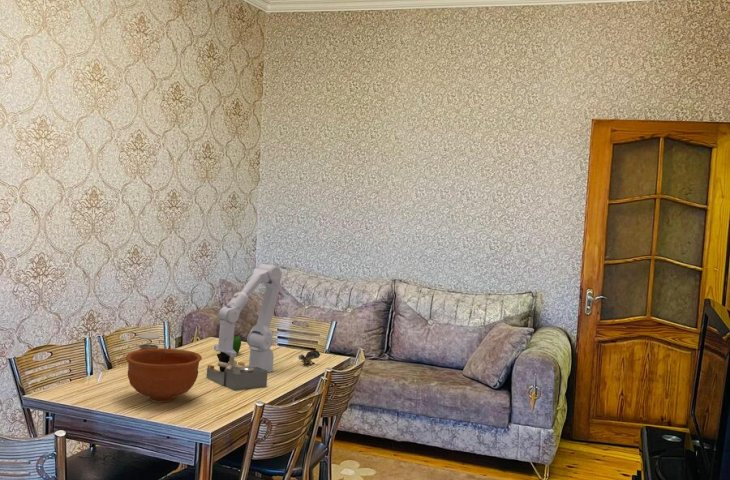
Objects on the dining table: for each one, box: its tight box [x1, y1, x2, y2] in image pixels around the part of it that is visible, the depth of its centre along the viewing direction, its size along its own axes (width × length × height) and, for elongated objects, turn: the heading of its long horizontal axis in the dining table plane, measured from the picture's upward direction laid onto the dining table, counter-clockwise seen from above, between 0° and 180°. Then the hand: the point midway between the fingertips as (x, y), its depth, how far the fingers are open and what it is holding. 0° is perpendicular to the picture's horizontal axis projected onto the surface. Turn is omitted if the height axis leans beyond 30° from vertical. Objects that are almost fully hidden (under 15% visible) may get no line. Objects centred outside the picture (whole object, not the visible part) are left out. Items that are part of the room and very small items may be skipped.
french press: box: [138, 307, 168, 350], centre depth 278 cm, size 10×12×25 cm
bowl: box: [125, 347, 203, 403], centre depth 242 cm, size 25×25×15 cm
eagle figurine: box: [297, 349, 321, 366], centre depth 311 cm, size 8×7×9 cm
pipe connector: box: [217, 354, 243, 372], centre depth 276 cm, size 10×10×10 cm
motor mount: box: [206, 361, 269, 391], centre depth 272 cm, size 15×20×7 cm
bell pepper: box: [233, 336, 242, 356], centre depth 320 cm, size 8×8×10 cm
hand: (223, 371), depth 280 cm, fingers closed, pressing on pipe connector
